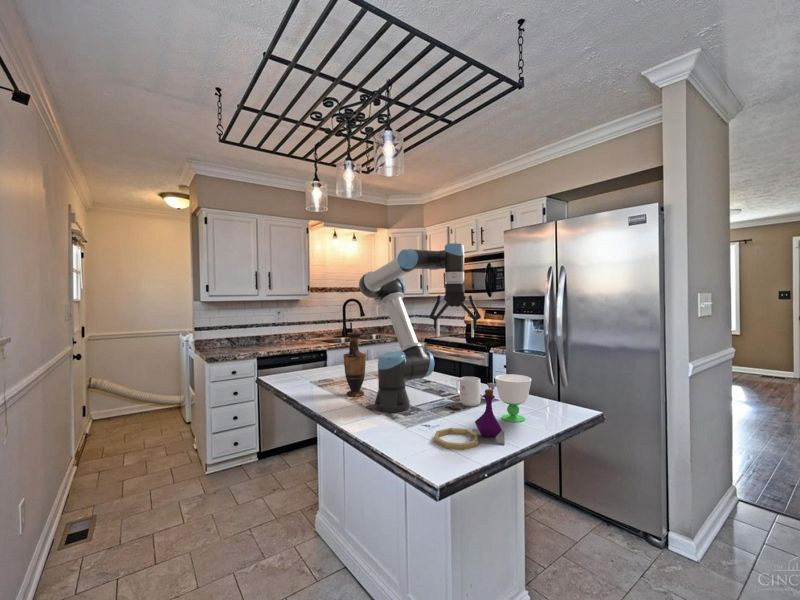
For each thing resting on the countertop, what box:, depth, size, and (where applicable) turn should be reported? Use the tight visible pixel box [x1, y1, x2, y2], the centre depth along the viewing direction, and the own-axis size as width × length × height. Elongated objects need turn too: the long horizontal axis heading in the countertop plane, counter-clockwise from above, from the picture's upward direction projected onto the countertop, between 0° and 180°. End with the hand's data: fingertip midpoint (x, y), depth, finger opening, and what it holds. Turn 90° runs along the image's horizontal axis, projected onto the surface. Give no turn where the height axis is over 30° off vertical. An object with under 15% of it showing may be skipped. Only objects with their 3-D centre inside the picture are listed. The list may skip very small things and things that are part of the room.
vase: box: [343, 331, 367, 398], centre depth 190 cm, size 11×11×30 cm
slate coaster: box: [469, 428, 506, 446], centre depth 134 cm, size 11×11×1 cm
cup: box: [494, 373, 532, 423], centre depth 153 cm, size 14×14×16 cm
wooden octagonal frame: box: [433, 427, 479, 451], centre depth 132 cm, size 14×14×2 cm
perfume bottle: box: [474, 382, 503, 437], centre depth 134 cm, size 8×8×18 cm
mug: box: [455, 376, 481, 407], centre depth 174 cm, size 12×9×11 cm
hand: (455, 336), depth 156 cm, fingers open, 13 cm apart
